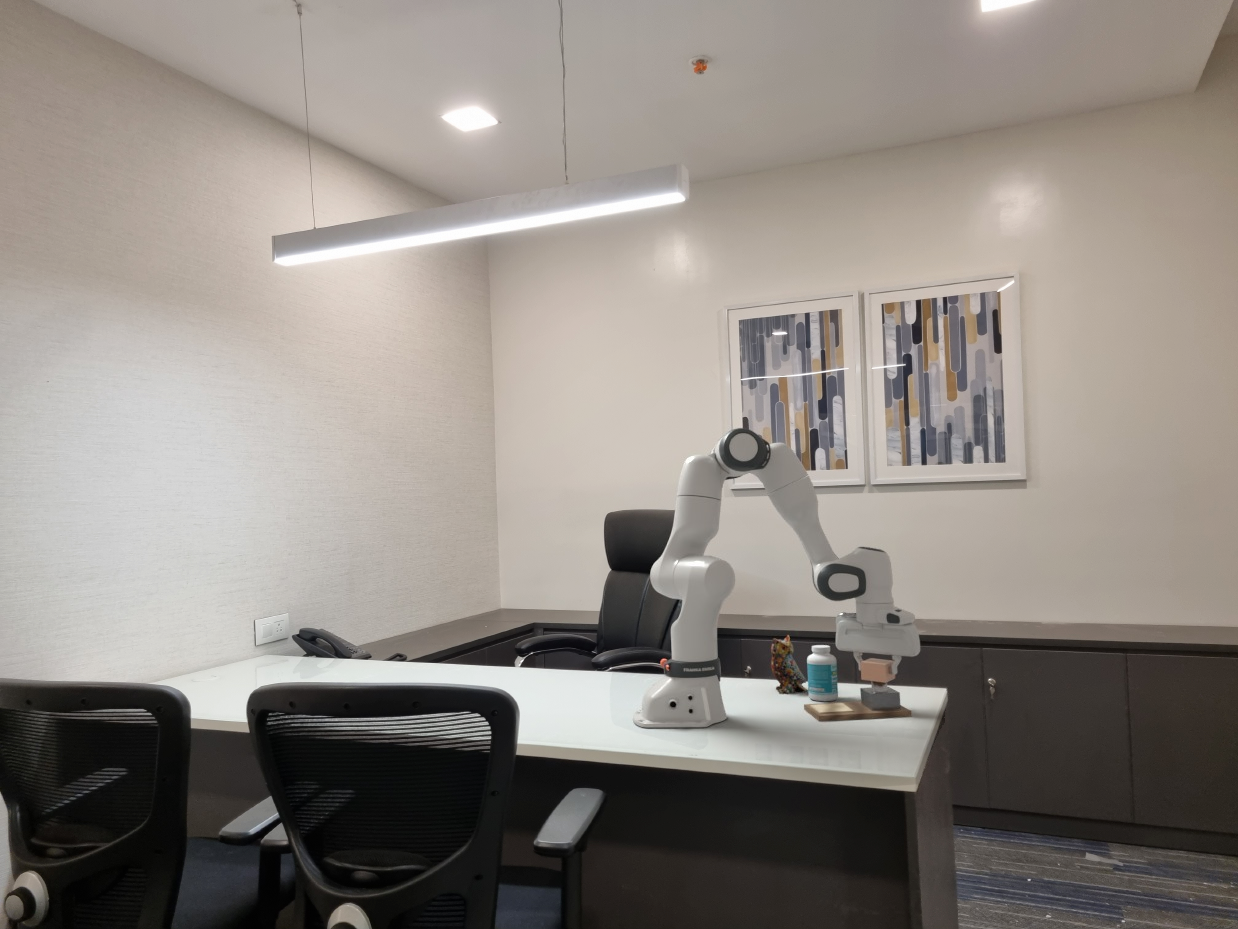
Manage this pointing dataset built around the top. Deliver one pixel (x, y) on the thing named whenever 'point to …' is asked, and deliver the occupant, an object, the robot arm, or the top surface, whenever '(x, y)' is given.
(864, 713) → the board
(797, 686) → the figurine
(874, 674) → the salmon pink block
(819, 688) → the pill bottle
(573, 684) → the top surface
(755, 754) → the top surface
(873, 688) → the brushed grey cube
